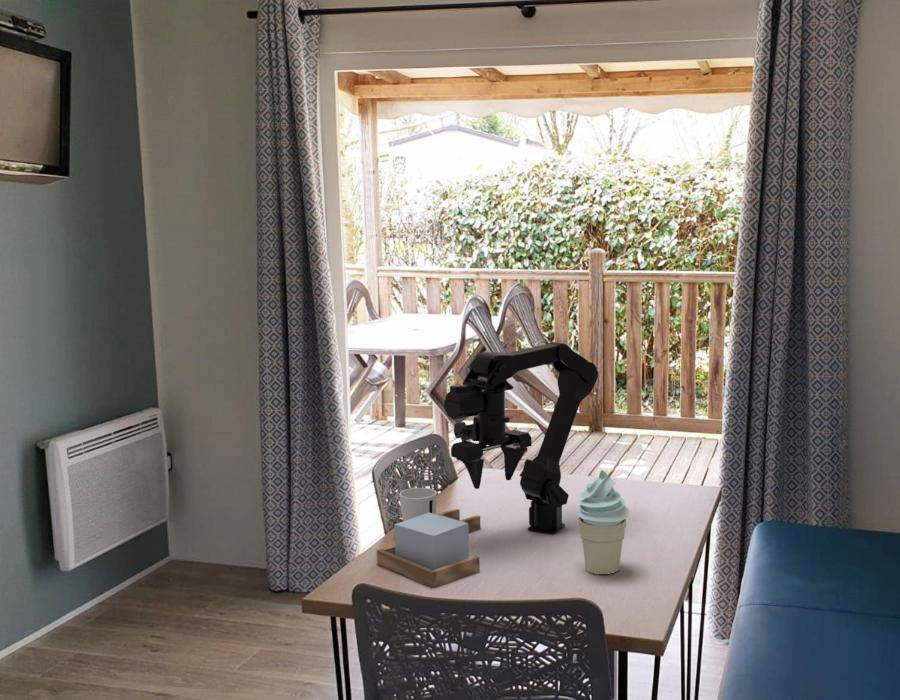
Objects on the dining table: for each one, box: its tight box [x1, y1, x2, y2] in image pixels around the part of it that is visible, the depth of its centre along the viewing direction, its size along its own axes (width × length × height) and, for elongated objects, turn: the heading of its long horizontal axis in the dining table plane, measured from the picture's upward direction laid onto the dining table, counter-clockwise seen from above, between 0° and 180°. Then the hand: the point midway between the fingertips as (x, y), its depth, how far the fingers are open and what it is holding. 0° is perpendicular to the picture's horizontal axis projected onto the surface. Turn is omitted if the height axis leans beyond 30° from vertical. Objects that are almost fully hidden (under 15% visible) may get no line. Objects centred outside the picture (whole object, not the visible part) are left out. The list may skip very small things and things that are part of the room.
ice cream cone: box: [577, 469, 630, 575], centre depth 196 cm, size 10×11×20 cm
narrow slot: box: [436, 508, 481, 534], centre depth 224 cm, size 6×8×3 cm
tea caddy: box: [393, 513, 470, 570], centre depth 201 cm, size 12×12×9 cm
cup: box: [399, 487, 438, 522], centre depth 219 cm, size 8×8×10 cm
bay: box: [376, 544, 481, 589], centre depth 200 cm, size 12×18×3 cm
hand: (492, 484), depth 213 cm, fingers open, 9 cm apart
